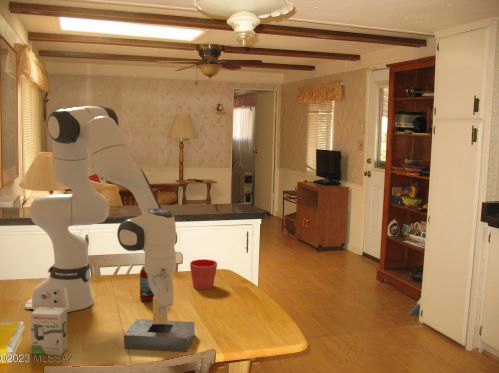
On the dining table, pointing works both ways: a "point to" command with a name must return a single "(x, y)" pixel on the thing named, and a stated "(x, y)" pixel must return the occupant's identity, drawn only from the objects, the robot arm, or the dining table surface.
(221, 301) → the dining table surface
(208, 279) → the flower pot
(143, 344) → the jig
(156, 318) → the tilted wooden brick
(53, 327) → the ink box
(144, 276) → the beverage can
